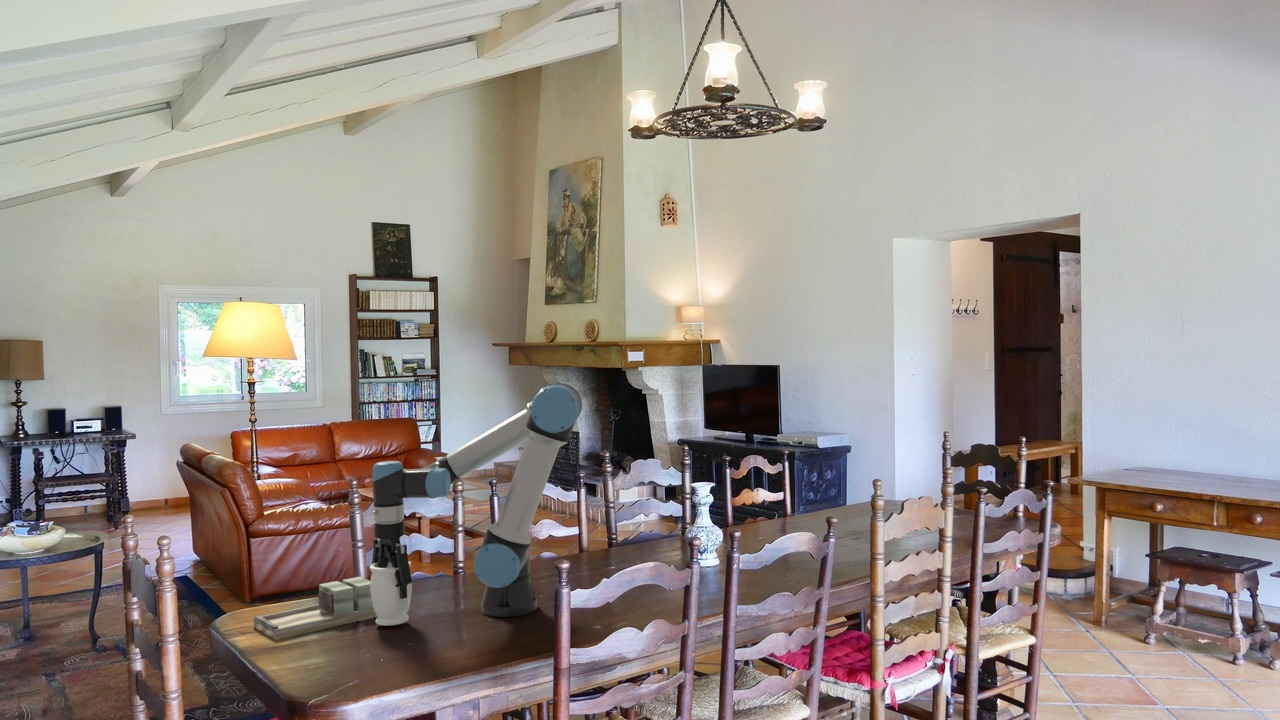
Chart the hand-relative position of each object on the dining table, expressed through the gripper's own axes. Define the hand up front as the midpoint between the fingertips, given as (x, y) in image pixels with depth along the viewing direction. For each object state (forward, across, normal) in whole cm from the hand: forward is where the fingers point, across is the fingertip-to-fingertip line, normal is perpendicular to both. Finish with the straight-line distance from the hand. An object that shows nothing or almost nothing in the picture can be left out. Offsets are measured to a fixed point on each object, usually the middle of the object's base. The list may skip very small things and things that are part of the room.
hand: (391, 606), depth 236 cm
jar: (+4, 0, 0) cm, 4 cm away
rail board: (+5, -17, -12) cm, 22 cm away
